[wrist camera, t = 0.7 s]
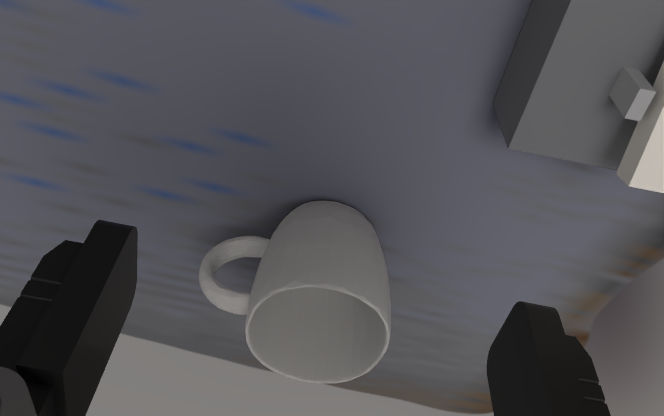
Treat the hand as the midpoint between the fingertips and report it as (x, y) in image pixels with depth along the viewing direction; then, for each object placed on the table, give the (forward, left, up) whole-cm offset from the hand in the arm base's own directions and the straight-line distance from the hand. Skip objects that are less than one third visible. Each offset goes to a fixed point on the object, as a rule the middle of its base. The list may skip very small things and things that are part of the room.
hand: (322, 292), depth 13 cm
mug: (+20, 0, -26) cm, 33 cm away
